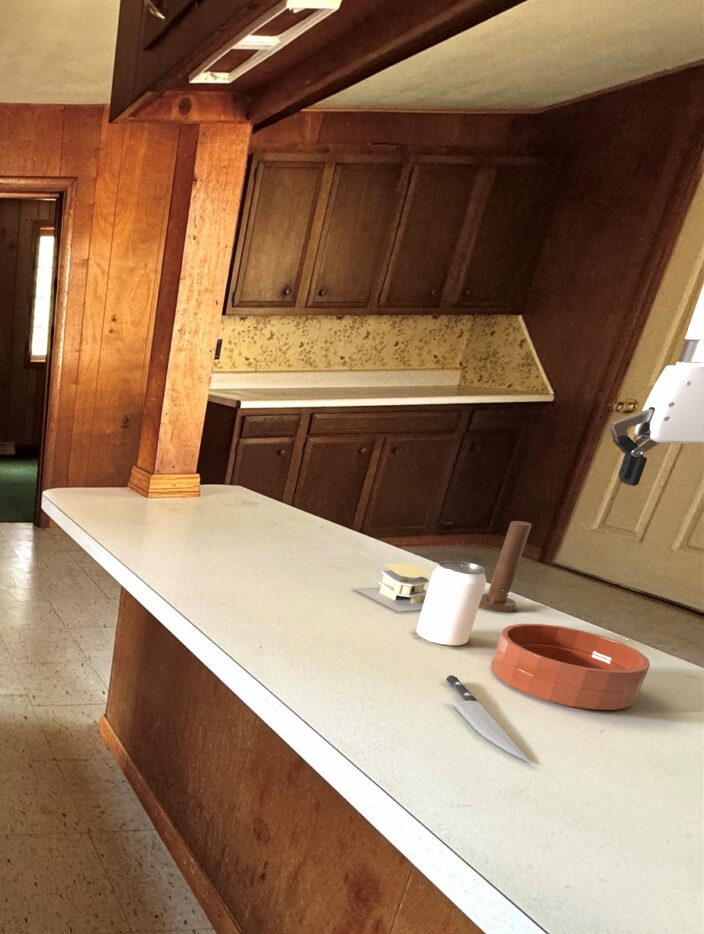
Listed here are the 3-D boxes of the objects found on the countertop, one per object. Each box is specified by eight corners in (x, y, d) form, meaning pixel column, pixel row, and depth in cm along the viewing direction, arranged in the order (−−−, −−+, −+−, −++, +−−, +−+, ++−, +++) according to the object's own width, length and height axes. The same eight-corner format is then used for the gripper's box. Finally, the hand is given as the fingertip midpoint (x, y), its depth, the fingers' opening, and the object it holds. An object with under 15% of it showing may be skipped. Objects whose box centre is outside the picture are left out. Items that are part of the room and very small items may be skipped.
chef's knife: (497, 761, 76) (529, 763, 75) (499, 752, 76) (531, 755, 75) (428, 678, 93) (453, 680, 92) (429, 671, 93) (455, 672, 92)
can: (422, 643, 103) (443, 571, 98) (410, 626, 108) (429, 557, 104) (473, 649, 100) (497, 576, 96) (458, 632, 106) (480, 561, 101)
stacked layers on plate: (355, 590, 123) (362, 562, 121) (400, 586, 124) (407, 559, 122) (398, 611, 114) (406, 582, 112) (446, 608, 114) (455, 578, 112)
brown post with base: (507, 602, 116) (534, 520, 110) (519, 613, 111) (548, 528, 106) (470, 598, 118) (495, 517, 112) (480, 609, 113) (507, 526, 108)
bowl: (598, 669, 94) (613, 631, 92) (657, 722, 82) (676, 680, 79) (474, 654, 99) (486, 618, 97) (512, 702, 87) (527, 661, 85)
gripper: (797, 349, 85) (744, 481, 91) (617, 355, 91) (579, 477, 97) (845, 352, 78) (785, 493, 84) (648, 358, 85) (605, 488, 91)
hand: (675, 484), depth 91 cm, fingers open, 9 cm apart
